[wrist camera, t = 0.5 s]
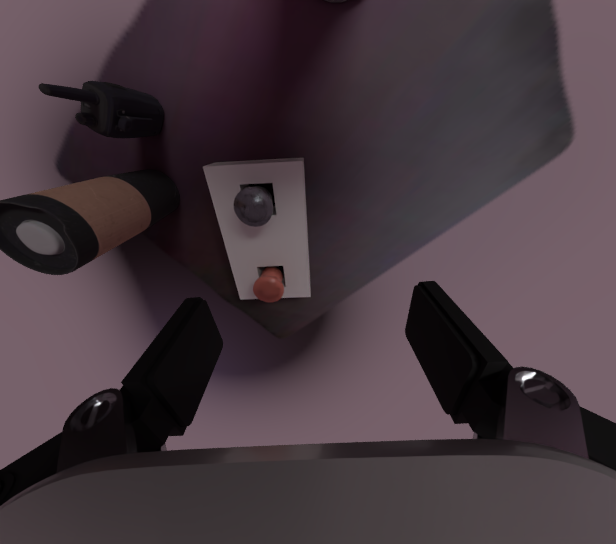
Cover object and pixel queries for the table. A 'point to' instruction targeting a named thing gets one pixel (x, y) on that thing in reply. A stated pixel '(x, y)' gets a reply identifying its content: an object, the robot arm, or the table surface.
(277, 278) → the red button
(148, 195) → the travel mug
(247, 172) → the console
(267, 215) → the metal button
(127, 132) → the two-way radio
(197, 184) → the table surface
